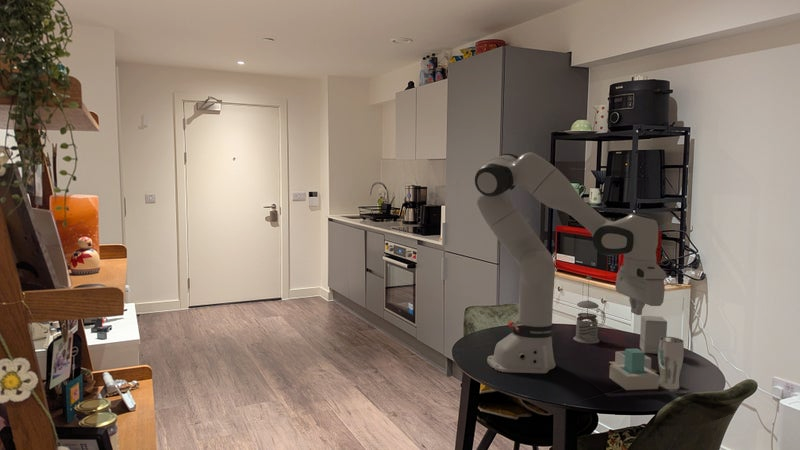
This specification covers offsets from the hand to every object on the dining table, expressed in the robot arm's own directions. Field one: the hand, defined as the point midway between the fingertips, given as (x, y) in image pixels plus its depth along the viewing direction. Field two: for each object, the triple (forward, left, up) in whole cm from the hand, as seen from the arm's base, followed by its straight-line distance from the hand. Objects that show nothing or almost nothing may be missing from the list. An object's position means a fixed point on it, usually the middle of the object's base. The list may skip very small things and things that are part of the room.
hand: (636, 313), depth 167 cm
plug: (0, 0, -21) cm, 21 cm away
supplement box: (+25, +30, -23) cm, 45 cm away
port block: (0, 0, -22) cm, 22 cm away
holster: (+8, +14, -22) cm, 28 cm away
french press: (+9, +47, -23) cm, 53 cm away
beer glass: (+10, -3, -23) cm, 25 cm away
